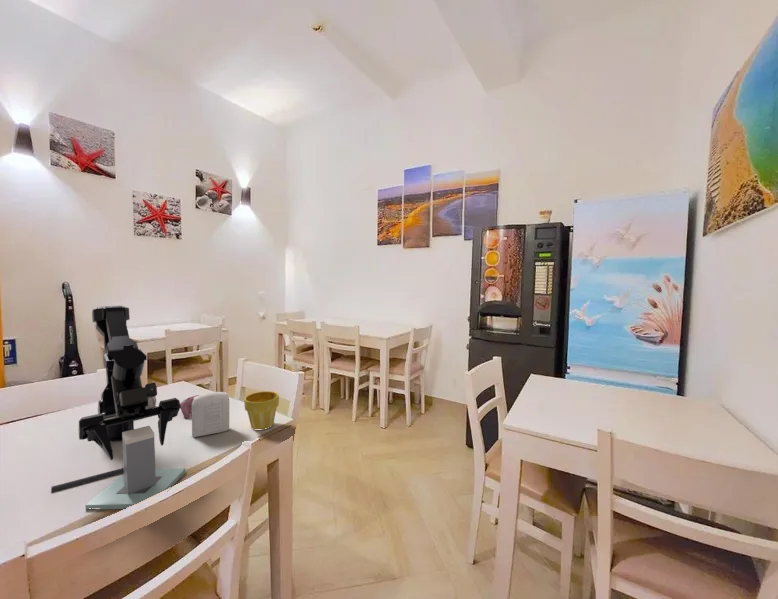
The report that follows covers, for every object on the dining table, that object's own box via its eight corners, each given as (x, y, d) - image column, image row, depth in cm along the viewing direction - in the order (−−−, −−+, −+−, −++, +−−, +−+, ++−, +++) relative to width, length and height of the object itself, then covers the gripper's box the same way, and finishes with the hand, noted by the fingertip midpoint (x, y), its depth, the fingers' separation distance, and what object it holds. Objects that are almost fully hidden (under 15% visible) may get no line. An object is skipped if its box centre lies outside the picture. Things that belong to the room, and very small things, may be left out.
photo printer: (228, 425, 109) (228, 388, 108) (230, 431, 105) (230, 391, 105) (191, 433, 103) (190, 393, 102) (192, 439, 100) (191, 398, 99)
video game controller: (210, 412, 123) (205, 393, 125) (216, 409, 121) (211, 390, 122) (180, 421, 115) (176, 401, 117) (186, 418, 113) (181, 398, 114)
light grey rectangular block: (124, 484, 76) (122, 432, 75) (150, 475, 80) (149, 425, 79) (127, 494, 73) (125, 440, 72) (155, 484, 76) (154, 432, 75)
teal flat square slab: (85, 509, 69) (85, 504, 69) (130, 473, 82) (130, 468, 82) (151, 508, 70) (151, 503, 70) (185, 472, 83) (185, 467, 83)
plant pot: (237, 429, 106) (236, 399, 106) (260, 417, 116) (260, 389, 115) (263, 435, 103) (263, 404, 102) (285, 422, 112) (285, 393, 112)
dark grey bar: (51, 493, 75) (51, 488, 75) (52, 490, 76) (52, 485, 76) (134, 470, 84) (134, 466, 84) (134, 468, 85) (134, 464, 85)
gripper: (77, 381, 72) (83, 451, 65) (177, 366, 85) (191, 423, 79) (76, 406, 78) (82, 473, 71) (170, 388, 92) (182, 443, 85)
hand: (138, 451), depth 76 cm, fingers open, 9 cm apart
